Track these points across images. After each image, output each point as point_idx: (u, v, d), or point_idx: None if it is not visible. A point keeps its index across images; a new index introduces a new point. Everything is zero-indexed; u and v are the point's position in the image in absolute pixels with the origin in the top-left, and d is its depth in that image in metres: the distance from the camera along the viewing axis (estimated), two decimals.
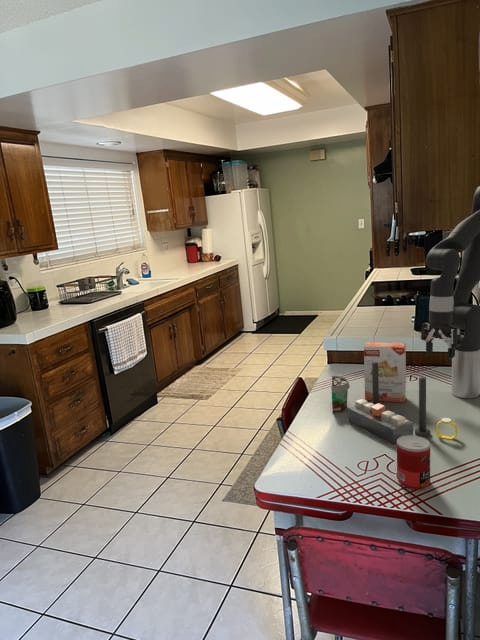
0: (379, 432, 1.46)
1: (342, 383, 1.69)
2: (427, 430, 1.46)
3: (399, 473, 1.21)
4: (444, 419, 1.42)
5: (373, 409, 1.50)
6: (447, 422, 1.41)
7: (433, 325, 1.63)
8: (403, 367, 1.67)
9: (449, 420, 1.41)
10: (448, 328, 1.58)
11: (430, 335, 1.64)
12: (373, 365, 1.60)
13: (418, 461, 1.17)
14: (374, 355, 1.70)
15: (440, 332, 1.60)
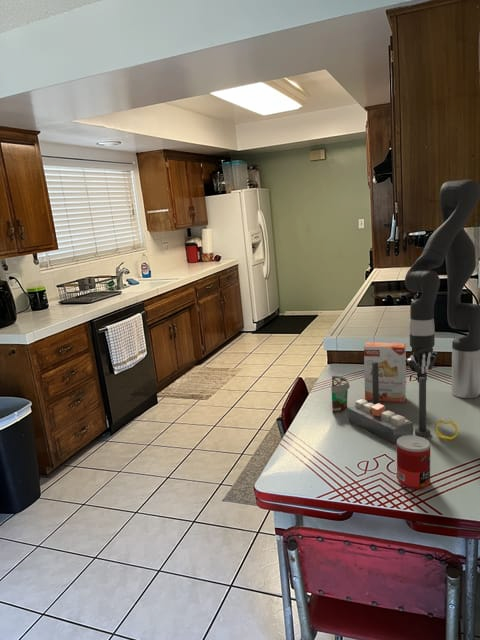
0: (379, 432, 1.46)
1: (342, 383, 1.69)
2: (427, 430, 1.46)
3: (399, 473, 1.21)
4: (444, 419, 1.42)
5: (373, 409, 1.50)
6: (447, 422, 1.41)
7: (420, 351, 1.53)
8: (403, 367, 1.67)
9: (449, 420, 1.41)
10: None
11: (424, 362, 1.54)
12: (373, 365, 1.60)
13: (418, 461, 1.17)
14: (374, 355, 1.70)
15: (429, 355, 1.54)
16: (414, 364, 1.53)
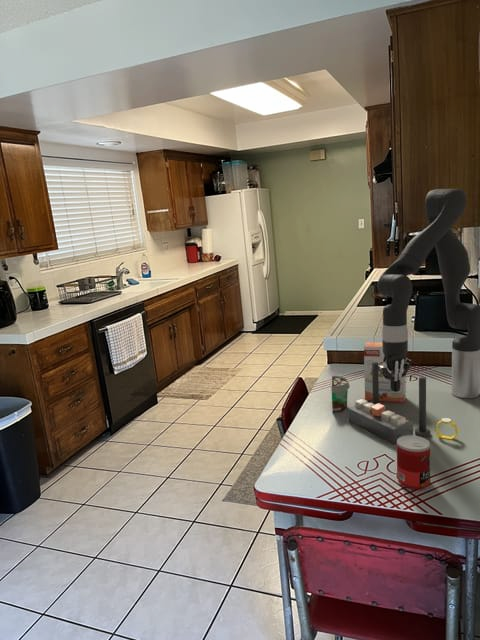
0: (379, 432, 1.46)
1: (342, 383, 1.69)
2: (427, 430, 1.46)
3: (399, 473, 1.21)
4: (444, 419, 1.42)
5: (373, 409, 1.50)
6: (447, 422, 1.41)
7: (392, 358, 1.48)
8: None
9: (449, 420, 1.41)
10: (406, 356, 1.51)
11: (397, 370, 1.49)
12: (373, 365, 1.60)
13: (418, 461, 1.17)
14: (374, 355, 1.70)
15: (402, 362, 1.49)
16: (386, 371, 1.48)
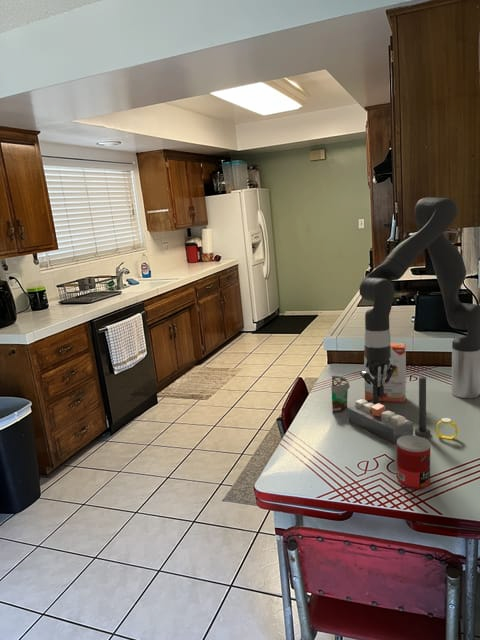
0: (379, 432, 1.46)
1: (342, 383, 1.69)
2: (427, 430, 1.46)
3: (399, 473, 1.21)
4: (444, 419, 1.42)
5: (373, 409, 1.50)
6: (447, 422, 1.41)
7: (375, 363, 1.45)
8: (403, 367, 1.67)
9: (449, 420, 1.41)
10: (389, 361, 1.48)
11: (379, 375, 1.46)
12: None
13: (418, 461, 1.17)
14: None
15: (385, 367, 1.46)
16: (369, 377, 1.45)
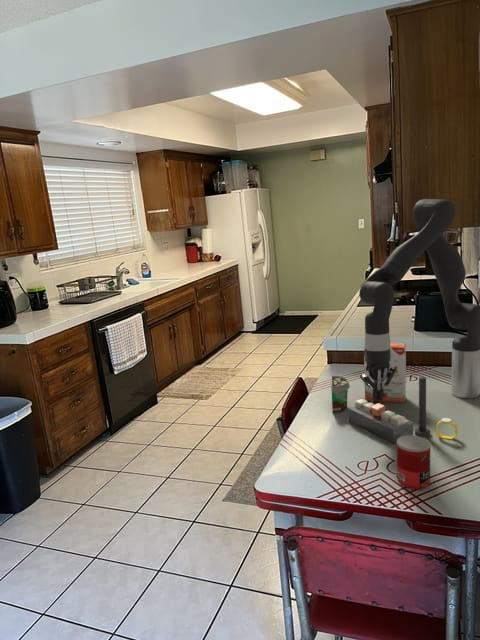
0: (379, 432, 1.46)
1: (342, 383, 1.69)
2: (427, 430, 1.46)
3: (399, 473, 1.21)
4: (444, 419, 1.42)
5: (373, 409, 1.50)
6: (447, 422, 1.41)
7: (375, 367, 1.45)
8: (403, 367, 1.67)
9: (449, 420, 1.41)
10: (389, 365, 1.48)
11: (379, 379, 1.46)
12: None
13: (418, 461, 1.17)
14: None
15: (385, 371, 1.46)
16: (369, 380, 1.45)
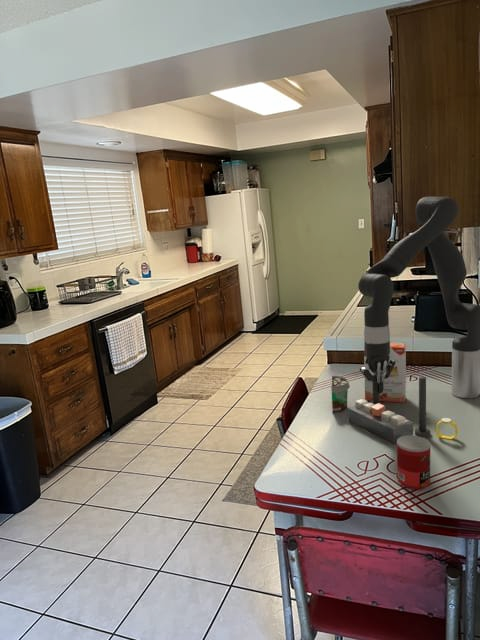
0: (379, 432, 1.46)
1: (342, 383, 1.69)
2: (427, 430, 1.46)
3: (399, 473, 1.21)
4: (444, 419, 1.42)
5: (373, 409, 1.50)
6: (447, 422, 1.41)
7: (374, 359, 1.45)
8: (403, 367, 1.67)
9: (449, 420, 1.41)
10: (389, 357, 1.48)
11: (379, 371, 1.46)
12: None
13: (418, 461, 1.17)
14: None
15: (385, 363, 1.46)
16: (368, 373, 1.45)
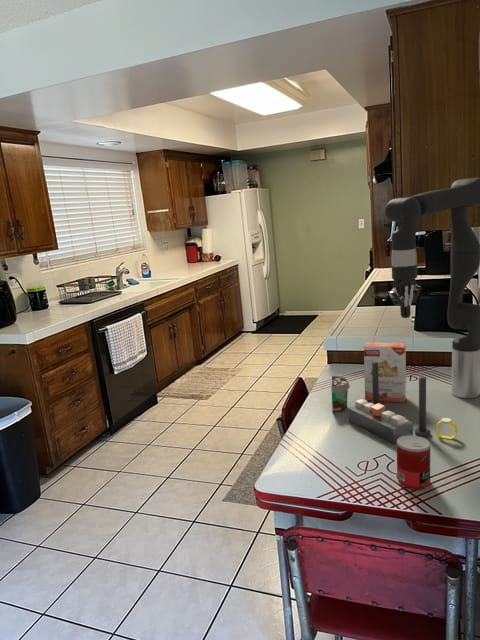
0: (379, 432, 1.46)
1: (342, 383, 1.69)
2: (427, 430, 1.46)
3: (399, 473, 1.21)
4: (444, 419, 1.42)
5: (373, 409, 1.50)
6: (447, 422, 1.41)
7: (402, 283, 1.49)
8: (403, 367, 1.67)
9: (449, 420, 1.41)
10: None
11: (406, 295, 1.50)
12: (373, 365, 1.60)
13: (418, 461, 1.17)
14: (374, 355, 1.70)
15: (412, 287, 1.50)
16: (396, 296, 1.49)
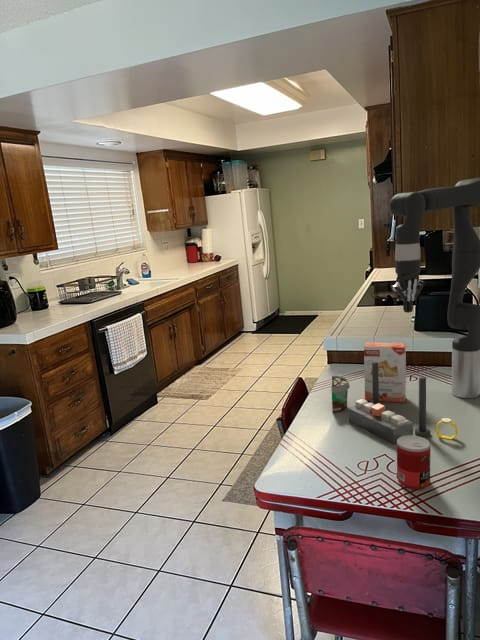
0: (379, 432, 1.46)
1: (342, 383, 1.69)
2: (427, 430, 1.46)
3: (399, 473, 1.21)
4: (444, 419, 1.42)
5: (373, 409, 1.50)
6: (447, 422, 1.41)
7: (405, 277, 1.50)
8: (403, 367, 1.67)
9: (449, 420, 1.41)
10: None
11: (409, 289, 1.50)
12: (373, 365, 1.60)
13: (418, 461, 1.17)
14: (374, 355, 1.70)
15: (415, 282, 1.51)
16: (400, 290, 1.49)
